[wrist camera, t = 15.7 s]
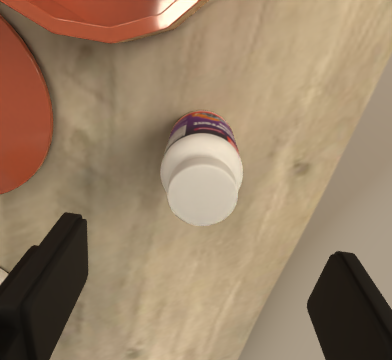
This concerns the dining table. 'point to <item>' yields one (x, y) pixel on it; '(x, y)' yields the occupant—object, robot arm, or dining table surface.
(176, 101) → the dining table surface
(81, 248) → the robot arm
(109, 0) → the pot
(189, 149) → the pill bottle
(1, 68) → the lid
